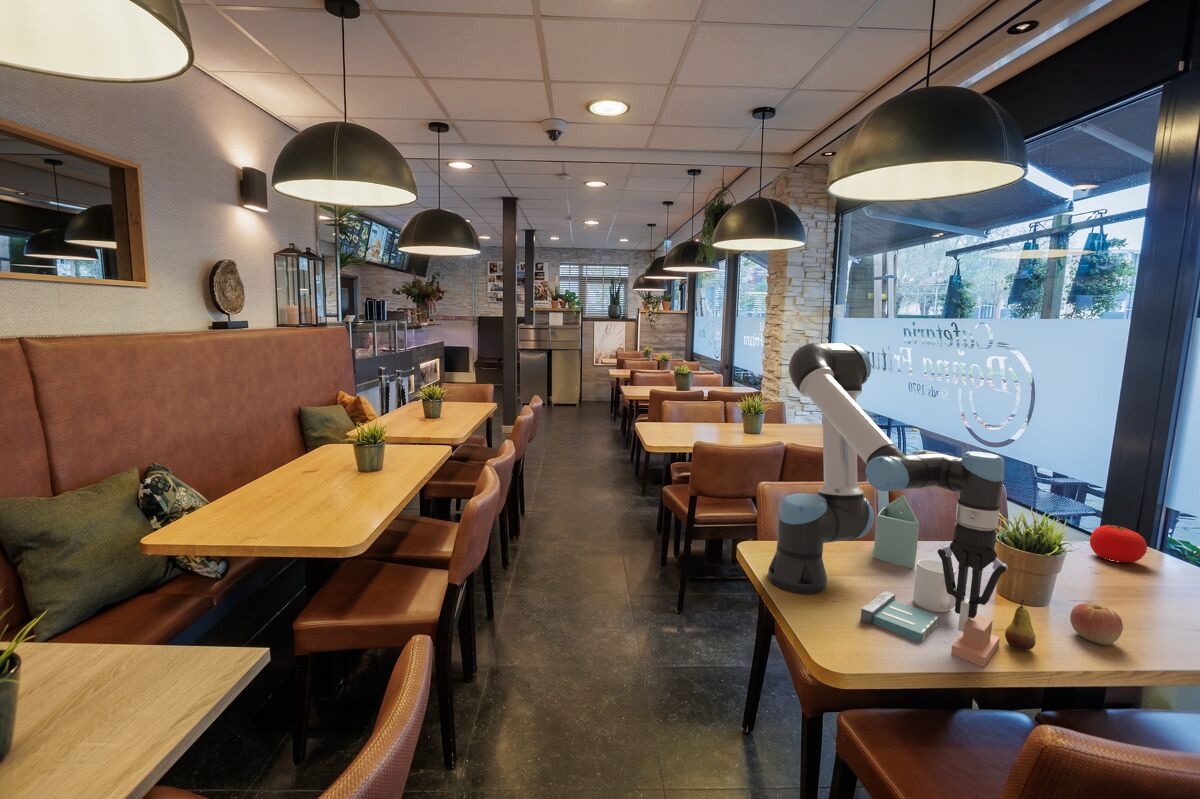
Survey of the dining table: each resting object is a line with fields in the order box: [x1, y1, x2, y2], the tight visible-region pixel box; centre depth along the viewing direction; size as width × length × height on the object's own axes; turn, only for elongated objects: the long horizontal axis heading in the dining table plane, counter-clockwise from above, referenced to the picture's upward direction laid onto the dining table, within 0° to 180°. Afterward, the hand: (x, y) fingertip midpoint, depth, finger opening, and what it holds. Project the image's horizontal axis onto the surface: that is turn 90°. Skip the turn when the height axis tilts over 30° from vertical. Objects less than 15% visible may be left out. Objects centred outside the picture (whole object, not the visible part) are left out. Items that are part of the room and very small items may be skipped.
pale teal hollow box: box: [872, 494, 920, 570], centre depth 171 cm, size 16×8×20 cm, turn 6°
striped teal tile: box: [872, 600, 940, 643], centre depth 133 cm, size 13×12×2 cm
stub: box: [950, 614, 1001, 668], centre depth 121 cm, size 6×12×6 cm, turn 133°
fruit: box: [1004, 599, 1036, 651], centre depth 122 cm, size 6×6×12 cm
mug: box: [913, 559, 956, 613], centre depth 139 cm, size 12×8×10 cm
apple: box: [1069, 603, 1124, 646], centre depth 127 cm, size 9×9×8 cm
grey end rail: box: [859, 590, 896, 626], centre depth 136 cm, size 2×14×3 cm, turn 133°
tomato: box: [1089, 523, 1148, 563], centre depth 175 cm, size 12×13×11 cm
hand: (963, 629), depth 123 cm, fingers closed
